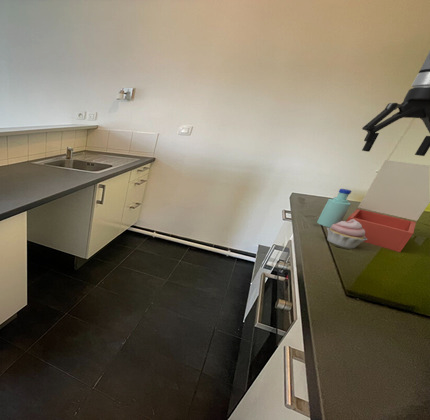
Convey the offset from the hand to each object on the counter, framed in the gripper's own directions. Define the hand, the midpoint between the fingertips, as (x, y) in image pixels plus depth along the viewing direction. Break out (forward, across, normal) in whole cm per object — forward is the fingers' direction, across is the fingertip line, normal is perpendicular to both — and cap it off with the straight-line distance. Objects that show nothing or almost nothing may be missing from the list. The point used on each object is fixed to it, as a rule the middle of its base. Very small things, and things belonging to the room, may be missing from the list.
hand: (391, 153), depth 88 cm
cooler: (+30, +1, -10) cm, 32 cm away
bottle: (+30, -9, -4) cm, 32 cm away
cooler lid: (+12, +6, -2) cm, 14 cm away
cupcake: (+30, -13, -24) cm, 40 cm away
